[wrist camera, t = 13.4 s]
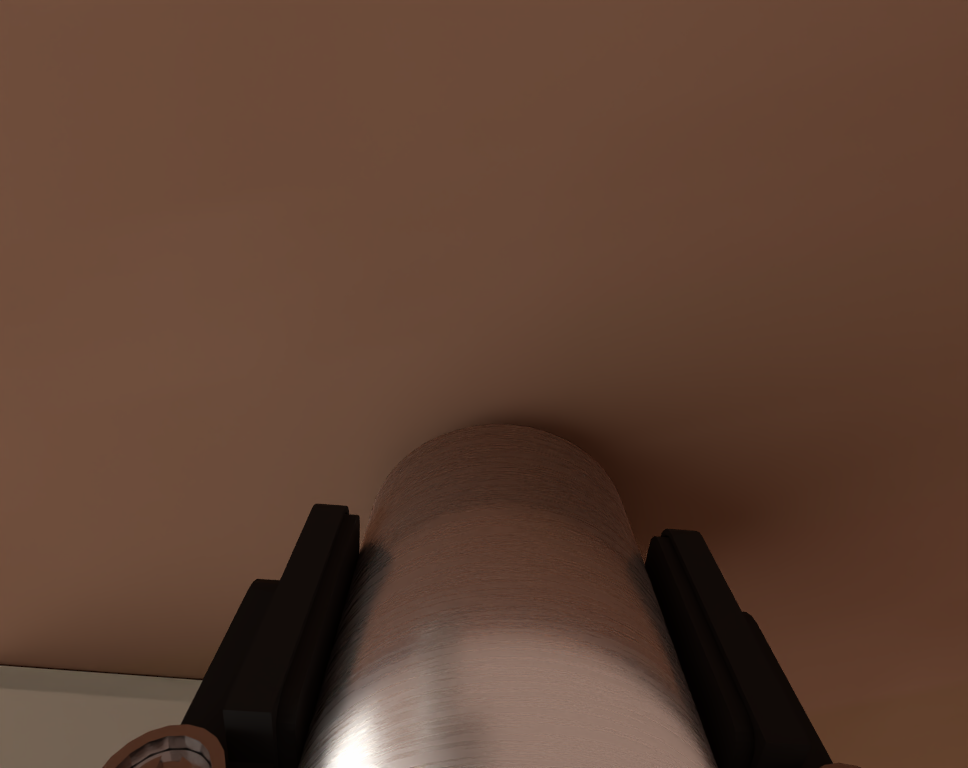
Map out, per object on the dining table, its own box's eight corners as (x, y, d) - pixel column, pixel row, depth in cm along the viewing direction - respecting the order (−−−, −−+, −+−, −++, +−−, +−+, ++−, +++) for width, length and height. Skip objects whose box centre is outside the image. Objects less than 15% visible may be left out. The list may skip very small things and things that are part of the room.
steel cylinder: (371, 413, 11) (208, 839, 4) (648, 434, 11) (878, 873, 5) (368, 626, 13) (251, 1133, 6) (603, 641, 13) (719, 1150, 7)
